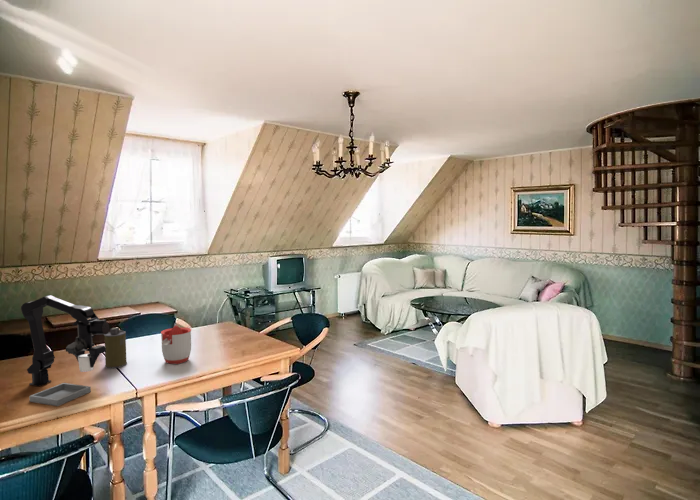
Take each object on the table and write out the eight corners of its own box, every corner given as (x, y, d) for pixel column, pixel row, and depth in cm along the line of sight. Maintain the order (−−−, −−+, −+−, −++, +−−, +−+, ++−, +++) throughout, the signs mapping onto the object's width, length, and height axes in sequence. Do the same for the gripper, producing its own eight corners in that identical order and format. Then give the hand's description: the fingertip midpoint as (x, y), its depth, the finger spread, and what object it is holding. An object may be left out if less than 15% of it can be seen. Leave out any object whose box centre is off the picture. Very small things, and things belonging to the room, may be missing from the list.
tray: (29, 401, 188) (29, 395, 188) (64, 387, 203) (63, 382, 203) (57, 406, 183) (57, 400, 183) (90, 391, 198) (90, 386, 198)
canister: (120, 368, 230) (119, 330, 228) (100, 368, 230) (99, 330, 229) (131, 361, 241) (129, 325, 239) (112, 361, 241) (111, 325, 239)
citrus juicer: (152, 365, 235) (151, 328, 233) (174, 355, 251) (173, 321, 250) (177, 368, 230) (176, 330, 229) (198, 358, 247) (197, 323, 245)
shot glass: (98, 367, 211) (97, 353, 210) (90, 372, 204) (89, 357, 204) (83, 367, 211) (82, 353, 210) (75, 372, 204) (74, 357, 203)
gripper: (54, 336, 201) (55, 370, 202) (85, 340, 196) (86, 374, 197) (75, 331, 212) (77, 362, 213) (106, 334, 206) (107, 366, 207)
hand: (86, 366), depth 207 cm, fingers closed on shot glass, 6 cm apart
